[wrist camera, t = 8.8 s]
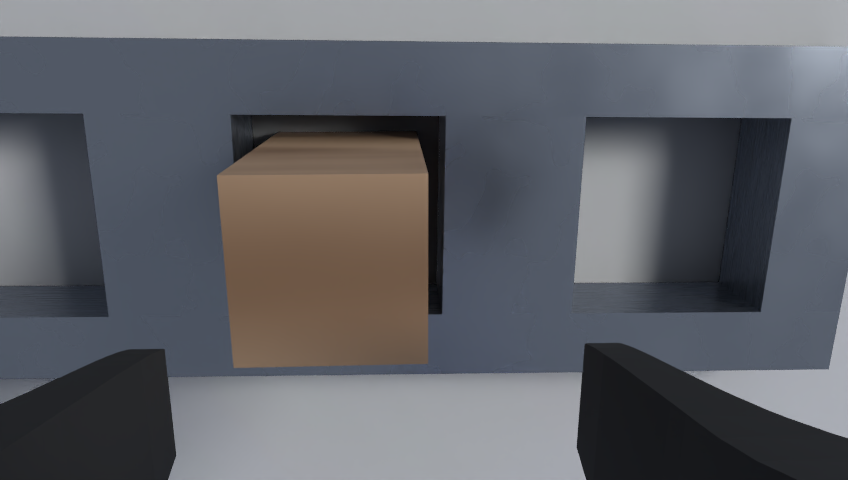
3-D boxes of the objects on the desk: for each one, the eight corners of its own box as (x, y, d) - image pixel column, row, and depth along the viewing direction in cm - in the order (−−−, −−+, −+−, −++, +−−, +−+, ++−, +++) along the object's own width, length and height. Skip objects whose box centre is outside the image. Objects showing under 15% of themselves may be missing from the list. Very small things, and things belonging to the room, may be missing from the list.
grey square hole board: (780, 333, 22) (828, 369, 19) (-107, 342, 20) (-174, 381, 18) (829, 47, 19) (890, 47, 17) (-176, 35, 18) (-264, 33, 16)
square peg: (416, 261, 21) (428, 363, 14) (286, 263, 20) (233, 368, 14) (416, 131, 19) (428, 173, 13) (278, 131, 19) (217, 175, 13)
